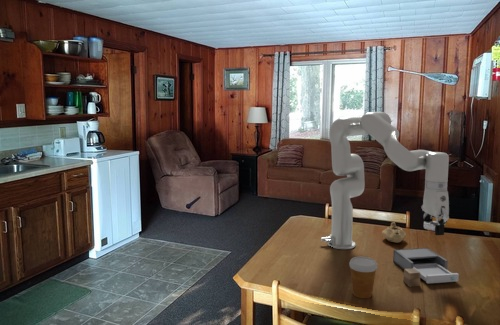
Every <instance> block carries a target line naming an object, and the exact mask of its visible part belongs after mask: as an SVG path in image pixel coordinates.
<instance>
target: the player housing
mask: <svg viewBox="0 0 500 325" xmlns="http://www.w3.org/2000/svg"><path fill="white" fill-rule="evenodd" d="M392 255H393V256H392V258H393V259H392V262H393V263H395V264H396V265H397V266H398V267H400V269H403V270H404V269H410V268H413V266H414V264H426V263H438V264H439V265H441V266H442V267H444V268H445V269H447V270H448V259H446V258H445V257H443V256H441V255H440V254H438V253H436V252H435V251H433V250H431V249H430V248H428V247H417V248H403V249H393V254H392Z"/></svg>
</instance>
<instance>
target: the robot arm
mask: <svg viewBox="0 0 500 325" xmlns="http://www.w3.org/2000/svg"><path fill="white" fill-rule="evenodd" d="M365 135H369V136H371V137H372V138H373V139H374V140H375V141H376V142H378V143H379V144H380V145H381V146H382V147H383V149H384V152H385V155H386V156H387V157H388V159H389V160H390V161H391V162H393V163H394V164H395V166H397V167H398V168H400V169H401V170H403V171H406V172H414V171H419V170H425V174H424V175H425V177H424V179H425V180H424V191H423V198H422V201H423V202H422V205H421V206H420V207H421V209H422V214H423V216H422V217H423V223H424V222H425V221H433V218H435V221H436V222H437V224H436V226H435V231H434V235H435V236H444V235H445V225H447V224H446V223H447V221H448V220H449V219H450V216H449V215H450V206H449V205H450V200H449V199H450V198H449V191H448V181H449V180H448V178H449V166H450V165H449V163H450V162H449V160H450V156H449V154H447V153H446V152H443V151H442V152H440V151H431V150H426V149H416V150H409V149H408V148H406V147H405V146H403V144H401V143H400V141H399V140H398V139H399V137H400V132H399V130H398V129H397V128H396V127H395V126H393V125H392V119H391V117H390V115H389V114H388V113H387V112H385V111H369V112H366V113H364V114H363V115H361V116H359V115H358V116H343V117H339V118H337V119H335V120H334V121H333V122H332V123H331V125H330V128H329V141H330V146H331V147H330V148H331V167H332V172H333V174H334V175H335V176H340V177H342V176H343V178H339V179H335V180H334V181H333V182H331V184H330V186H329V193H330V201H331V229H330V230H331V233H330V234H329V236H323V237H320V241H321V242H325V243H327V245H328V246H329V247H330V246H331V248H332V247H333V249H336V250H337V249H338V250H352V249H353V248H355V247H356V242H355V241H353V224H354V223H353V222H354V221H353V212H354V211H353V210H354V208H353V204H352V201H351V199H352V198H357V197H359V196H362V194H363V193H364V191H365V187H366V186H365V182H366V181H365V163H364V161H363V159H362V158H361V156H360V155H359V154H357V153H351V144H350V141H349V139H348V138H347V137H351V136H352V137H355V136H365ZM344 176H346V177H344ZM423 229H424V230H426V229H425V228H424V226H423Z"/></svg>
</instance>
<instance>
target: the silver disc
mask: <svg viewBox="0 0 500 325" xmlns="http://www.w3.org/2000/svg"><path fill="white" fill-rule="evenodd" d="M436 224H437V222H436V220H432V221H425V222H424V221H423V227H424V228H425V229H424V228H423V229H424V230H428V231H432V232H433V231H434V232H435V226H436Z"/></svg>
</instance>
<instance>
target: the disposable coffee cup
mask: <svg viewBox="0 0 500 325" xmlns="http://www.w3.org/2000/svg"><path fill="white" fill-rule="evenodd" d="M348 266H349V268H350V277H351V286H352V294H353V296H354V297H357V298H360V299H369V298H371V297H372V294H373V290H374V285H375V277H376V274H377V270H378V263H377V261H376V260H375V259H374V258H371V257H367V256H354V257H352V258H351V259H350V261H349V262H348Z"/></svg>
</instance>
